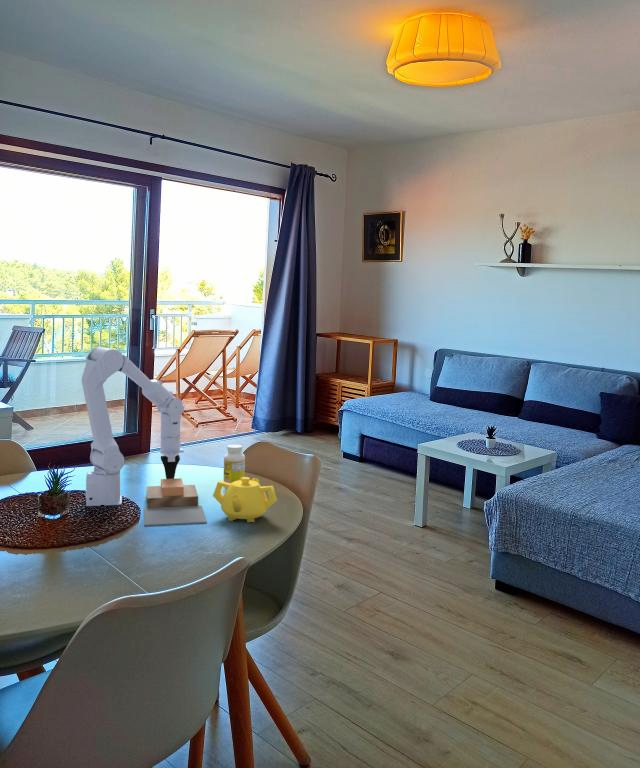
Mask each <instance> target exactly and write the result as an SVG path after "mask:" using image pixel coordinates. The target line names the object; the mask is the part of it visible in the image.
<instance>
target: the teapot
mask: <svg viewBox="0 0 640 768" xmlns="http://www.w3.org/2000/svg"><path fill="white" fill-rule="evenodd" d="M222 488H225V489H226V490H225V492H224V494H222V490H223V489H222ZM266 492H267V493H266ZM212 497H213V498H214V499H215V500H216V501H217V502H218V503H219V504H220V509H221V510H222V512H223V513H224V515H226V516H227V517H228V518H227V521H228V522H229V521H230V522H234V521H233V520H235V521H236V520H238V519H239V520H246V523H248V522H254V521H255V520H256V519H257V518H260V517H262V516H263V515H264V514H265V513H266V512H267V510H268V509H269V508H270V507H272V505H273V504H275V503H277V502H278V499H277V494H276V490H275V488H274V485H267V486H261V484H260V479H259V478H256V477H252V479H251V477H248V476H245V477H242V478H241V480H238V481H234V482H232V483H227V482H224V480H218V482H217V483H216V487H215V489H214V491H213V494H212ZM255 522H256V521H255ZM255 522H254V523H255Z"/></svg>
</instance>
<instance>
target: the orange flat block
mask: <svg viewBox="0 0 640 768" xmlns="http://www.w3.org/2000/svg"><path fill="white" fill-rule="evenodd" d="M183 485H184V483H183V478H174V479H166V478H161V479H160V486H161V493H162V496H181V495H184V486H183Z"/></svg>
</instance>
